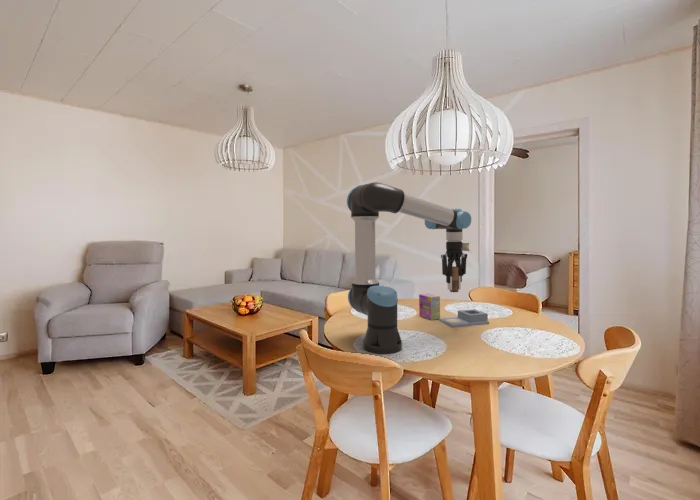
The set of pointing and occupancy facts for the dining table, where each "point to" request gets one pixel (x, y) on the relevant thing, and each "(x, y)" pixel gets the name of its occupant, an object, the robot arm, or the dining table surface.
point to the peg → (454, 279)
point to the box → (429, 306)
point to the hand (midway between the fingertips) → (454, 289)
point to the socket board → (464, 323)
